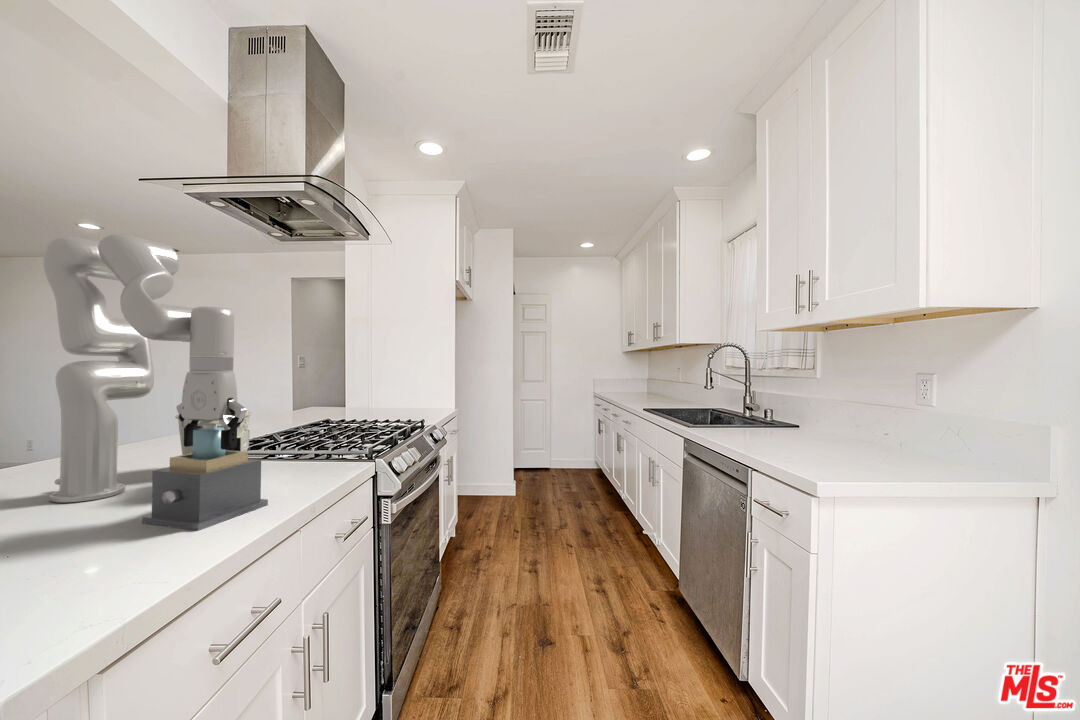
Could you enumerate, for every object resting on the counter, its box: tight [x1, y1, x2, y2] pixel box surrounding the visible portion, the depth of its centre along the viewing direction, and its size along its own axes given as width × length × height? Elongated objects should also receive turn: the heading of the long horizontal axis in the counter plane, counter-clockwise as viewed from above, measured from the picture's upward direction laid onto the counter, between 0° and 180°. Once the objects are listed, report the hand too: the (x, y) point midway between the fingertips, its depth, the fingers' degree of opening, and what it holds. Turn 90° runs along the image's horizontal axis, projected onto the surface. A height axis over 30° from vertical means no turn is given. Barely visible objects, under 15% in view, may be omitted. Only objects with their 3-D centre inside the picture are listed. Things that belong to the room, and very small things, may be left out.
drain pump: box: [193, 423, 226, 459], centre depth 96 cm, size 6×7×9 cm
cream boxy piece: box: [201, 419, 250, 452], centre depth 116 cm, size 18×8×18 cm, turn 25°
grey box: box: [141, 450, 269, 531], centre depth 95 cm, size 14×17×12 cm
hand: (210, 446), depth 95 cm, fingers open, 9 cm apart
